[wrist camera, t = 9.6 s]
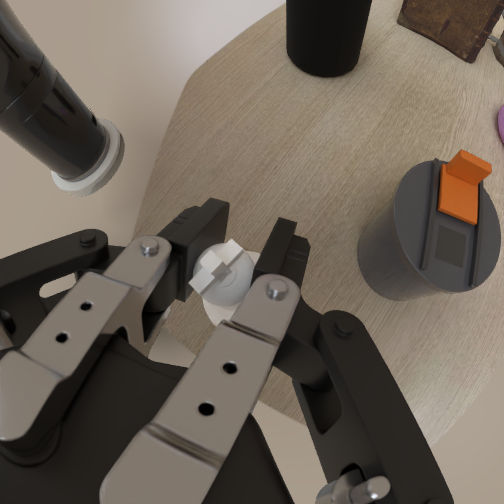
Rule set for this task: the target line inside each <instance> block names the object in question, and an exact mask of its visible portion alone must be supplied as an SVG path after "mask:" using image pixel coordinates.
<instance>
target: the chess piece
mask: <svg viewBox="0 0 504 504" xmlns="http://www.w3.org/2000/svg"><path fill="white" fill-rule="evenodd" d="M259 257H260V253H256V252H250V251H245V250H244V249H242V248H241V247H240V246H239V245H238V244H237V243H236V242H235V241H234V240H233V239H232V238H231V239H230V240H229V241H228V242H227V243H220V244H216V245H213V246H211V247H209V248H207V249H206V250H205V251H203V252H202V253H201V255H200V256H199V257H198V259H197V261H196V263H195V266H194V270H193V278H192V279H191V280H190V281H189V284H190V285H191V286H192V287H193V288H194V289H195V290H196V291H197V292H198V294H199V295H200V296H201V297H202V298H203V304H204V308H205V311H206V313H207V315H208V317H209V319H210V320H211V321H212V323H213V324H214V325H215V326H216V327H217V326H218V324H219V323H220V322H221V321H222V320H223V319H226V320H228V321H229V320H230V318H231V317H232V315H233V314H234V312H235V311H236V309H237V308H238V306H239V305H240V303H241V301H242V300H243V298H244V297H245V295H246V294H247V292H248V291H249V288H250V283H251V279H252V275H253V270H254V267H255V265H256V263H257V261H258V259H259Z"/></svg>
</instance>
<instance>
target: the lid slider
mask: <svg viewBox="0 0 504 504" xmlns="http://www.w3.org/2000/svg"><path fill="white" fill-rule="evenodd" d="M491 173H492V168H491V164H490V163H488V162H486V161H484V160H482V159H480V158H478V157H476V156H474V155H472V154H470V153H468V152H466V151H464V150H462V149H461V150H460V151H459V152H458V153H457V154H456V155H455V157H454V158H453V159H452V160H451V161H450V162H449V163H448V164H447V165H446V164H442V165H441V174H440V190H439V202H438V210H439V211H441V212H443V213H446V214H448V215H451V216H453V217H456V218H458V219H460V220H463V221H465V222H467V223H469V224H472V225H475V224H477V210H478V183H480V182H481V181H482V180H483V179H485V178H486V177H487V176H488V175H489V174H491Z"/></svg>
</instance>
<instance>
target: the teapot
mask: <svg viewBox="0 0 504 504" xmlns="http://www.w3.org/2000/svg"><path fill="white" fill-rule="evenodd" d="M498 126H499V132H500V136H501V139H502V142H503V144H504V105H503V106H502V107H501V108H500V110H499V114H498Z"/></svg>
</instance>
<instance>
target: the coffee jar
mask: <svg viewBox="0 0 504 504" xmlns="http://www.w3.org/2000/svg"><path fill="white" fill-rule="evenodd" d="M371 3H372V0H286V32H287V43H286V48H287V53H288V56H289V57H290V59H291V60H292V61H293V63H294V64H295V65H296V66H297V67H299V68H300V69H301V70H303V71H305V72H307V73H310V74H312V75H316V76H321V77H335V76H340V75H343V74H345V73H346V72H348V71H350V70H352V69H353V68H354V66H355V65H356V64H357V62H358V58H359V54H360V50H361V46H362V42H363V38H364V33H365V29H366V25H367V21H368V16H369V12H370V7H371Z"/></svg>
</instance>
